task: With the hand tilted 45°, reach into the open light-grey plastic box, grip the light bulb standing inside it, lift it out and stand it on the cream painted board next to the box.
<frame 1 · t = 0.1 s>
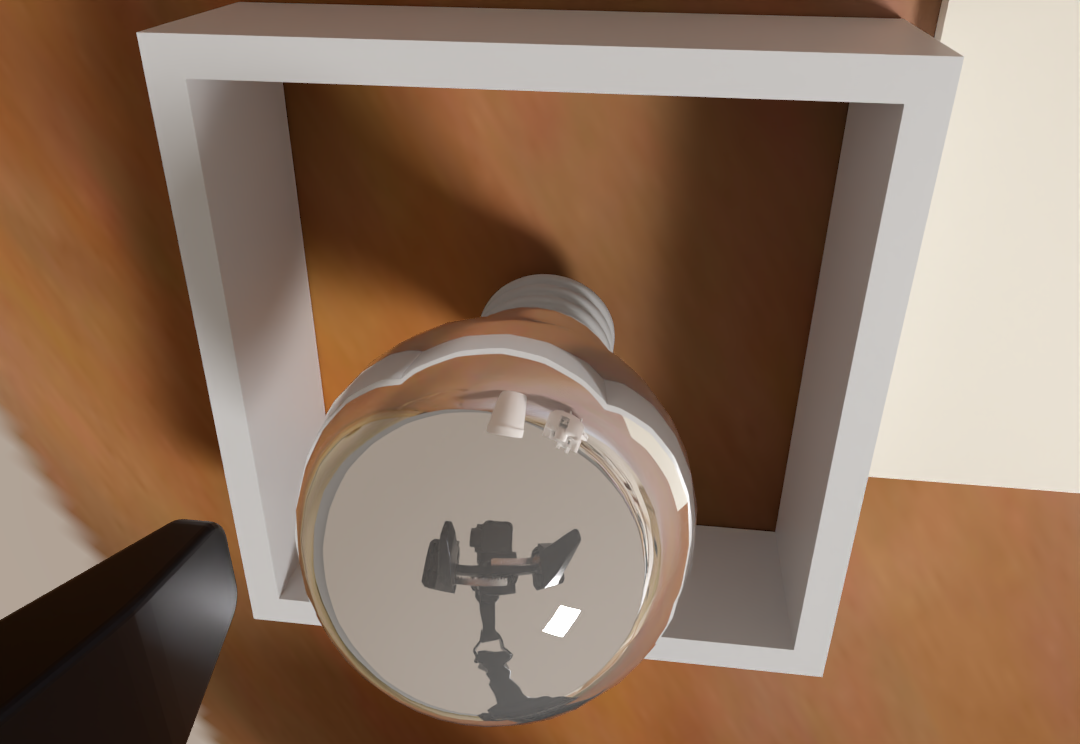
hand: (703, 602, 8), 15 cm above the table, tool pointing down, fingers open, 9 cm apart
cream board: (1065, 266, 21), on the table
light bulb: (553, 308, 23), resting in grey box
grey box: (552, 312, 23), on the table
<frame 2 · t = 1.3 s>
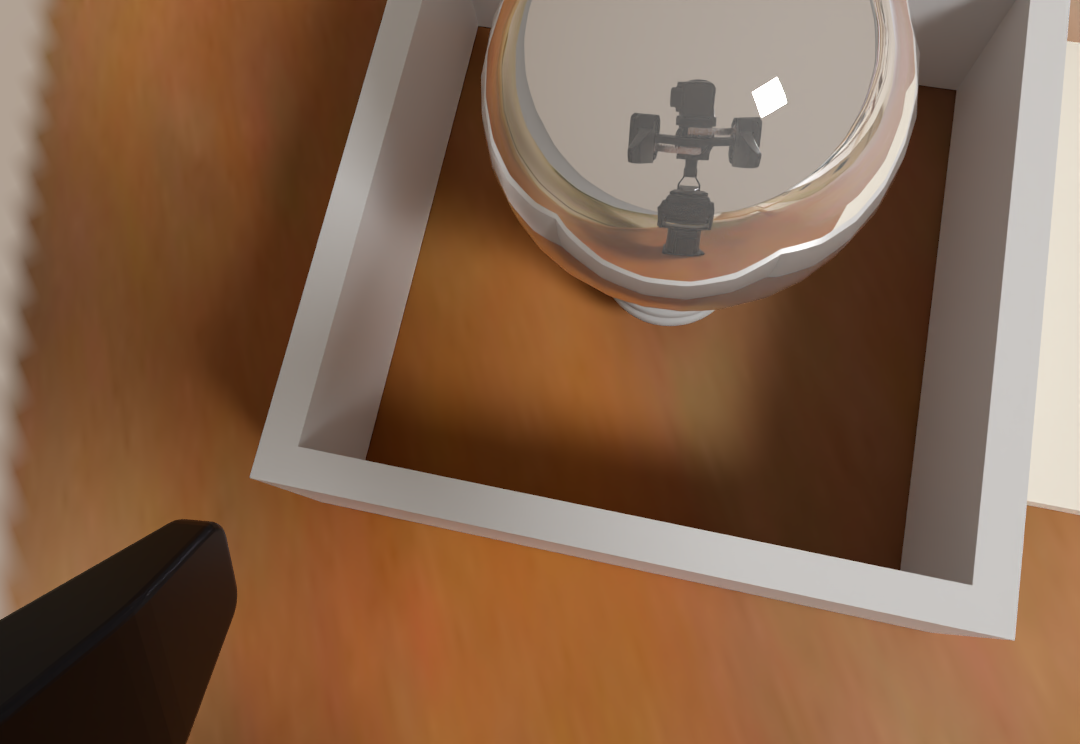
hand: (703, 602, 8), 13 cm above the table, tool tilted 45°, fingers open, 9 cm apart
light bulb: (666, 281, 23), resting in grey box
grey box: (666, 278, 23), on the table
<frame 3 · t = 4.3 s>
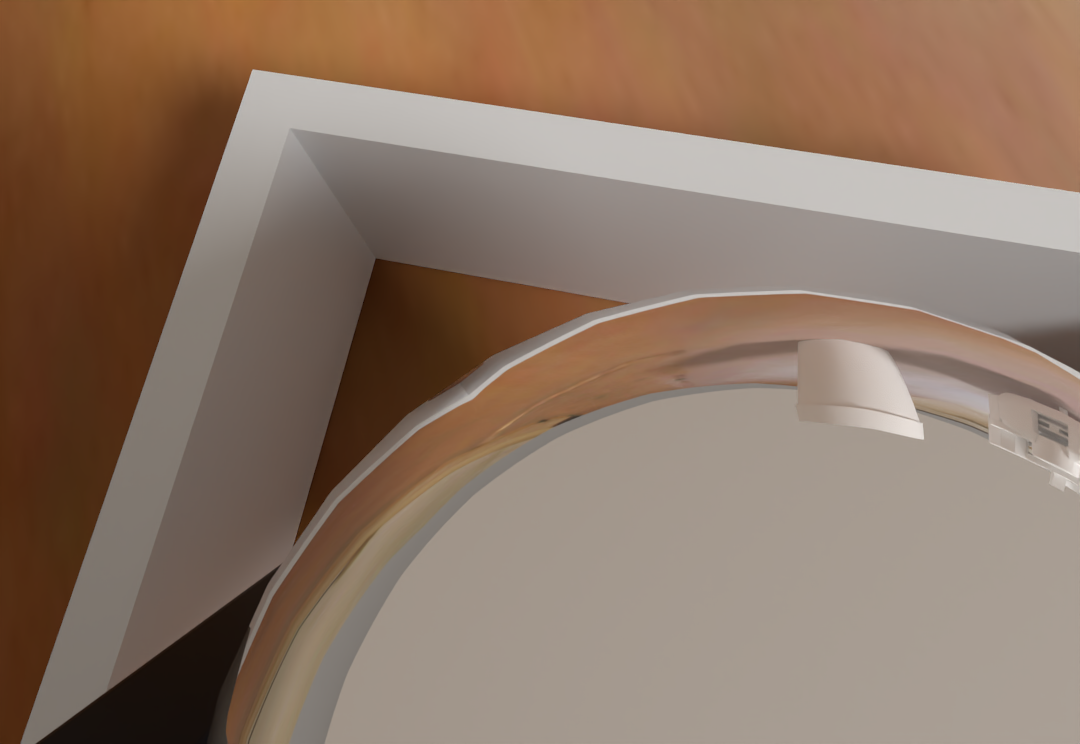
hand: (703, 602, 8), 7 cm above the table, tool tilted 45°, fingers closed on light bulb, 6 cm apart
light bulb: (660, 706, 14), resting in grey box, touching gripper
grey box: (660, 707, 14), on the table
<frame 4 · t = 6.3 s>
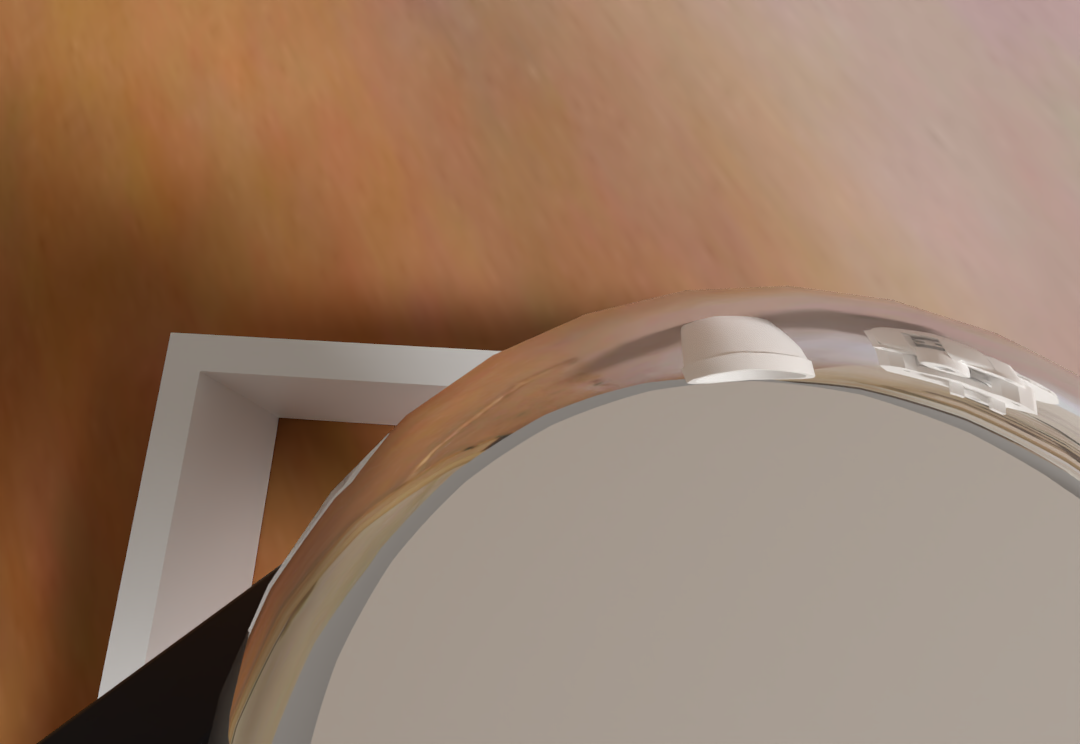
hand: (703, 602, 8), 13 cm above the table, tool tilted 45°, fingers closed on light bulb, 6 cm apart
light bulb: (651, 701, 14), point 7 cm above the table, touching gripper
grey box: (505, 710, 21), on the table
when the fingers open (8 cm above the table, at t = 8.8 s): light bulb stays where it is, resting on cream board.
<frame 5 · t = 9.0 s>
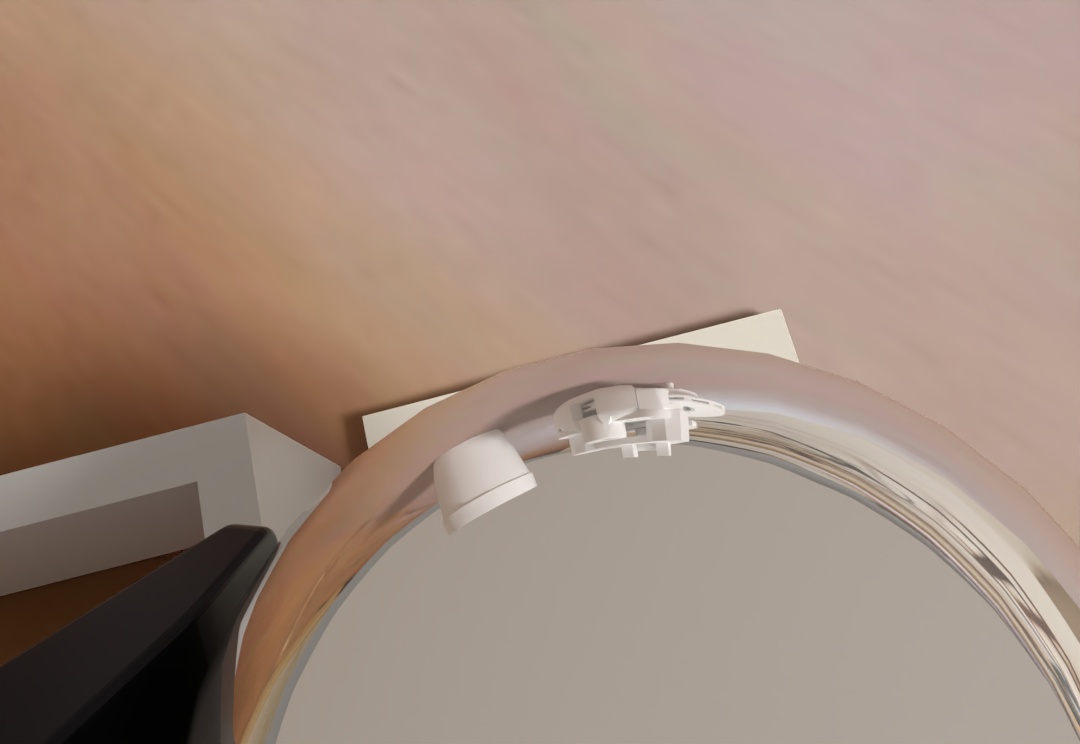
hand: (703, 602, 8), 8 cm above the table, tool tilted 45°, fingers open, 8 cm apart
cream board: (657, 695, 15), on the table
light bulb: (641, 707, 15), resting on cream board
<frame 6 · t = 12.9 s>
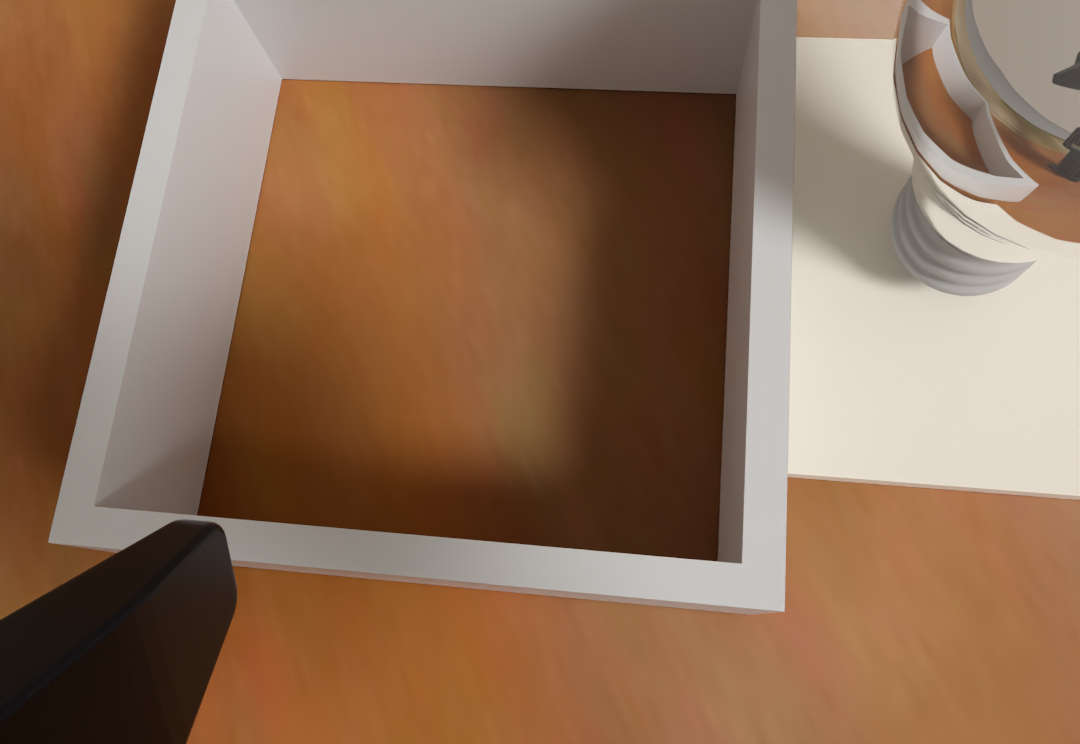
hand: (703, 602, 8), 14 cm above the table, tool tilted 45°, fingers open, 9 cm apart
cream board: (949, 256, 23), on the table
light bulb: (940, 254, 23), resting on cream board
grey box: (477, 302, 24), on the table
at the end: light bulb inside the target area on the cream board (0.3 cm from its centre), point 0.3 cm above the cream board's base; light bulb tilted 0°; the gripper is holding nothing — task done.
